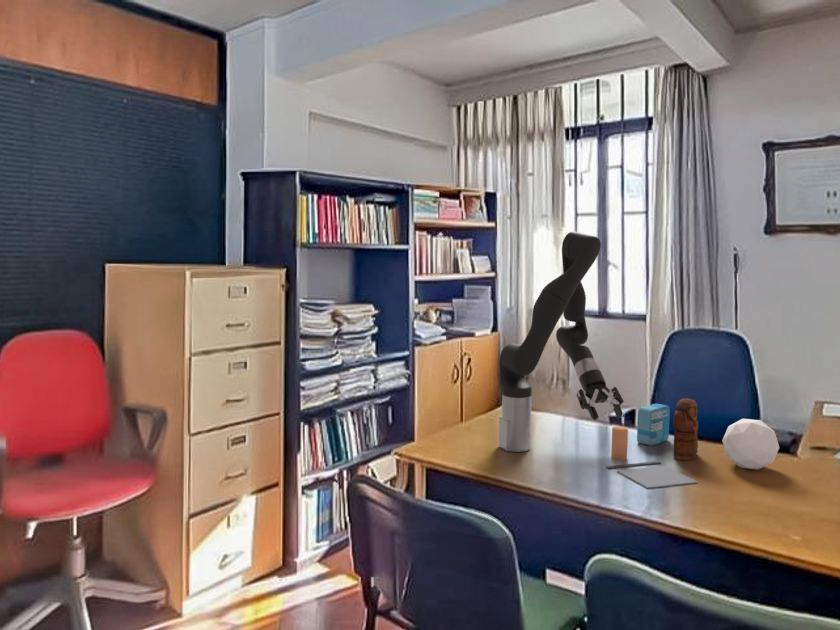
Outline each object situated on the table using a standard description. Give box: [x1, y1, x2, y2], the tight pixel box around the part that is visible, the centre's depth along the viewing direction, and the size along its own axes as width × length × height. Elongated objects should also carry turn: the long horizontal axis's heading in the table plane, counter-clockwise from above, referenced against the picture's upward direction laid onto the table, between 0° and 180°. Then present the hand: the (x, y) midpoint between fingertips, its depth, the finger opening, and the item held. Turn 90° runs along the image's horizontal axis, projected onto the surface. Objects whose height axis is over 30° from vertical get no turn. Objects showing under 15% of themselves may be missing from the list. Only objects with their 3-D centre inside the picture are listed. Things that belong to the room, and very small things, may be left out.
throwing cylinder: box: [610, 426, 629, 461], centre depth 202 cm, size 5×5×9 cm
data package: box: [636, 403, 671, 447], centre depth 219 cm, size 12×4×12 cm, turn 129°
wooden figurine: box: [672, 397, 700, 461], centre depth 204 cm, size 12×6×18 cm, turn 146°
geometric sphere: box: [721, 418, 780, 471], centre depth 194 cm, size 14×15×15 cm
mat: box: [605, 460, 699, 490], centre depth 187 cm, size 18×18×1 cm
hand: (608, 417), depth 208 cm, fingers open, 8 cm apart
